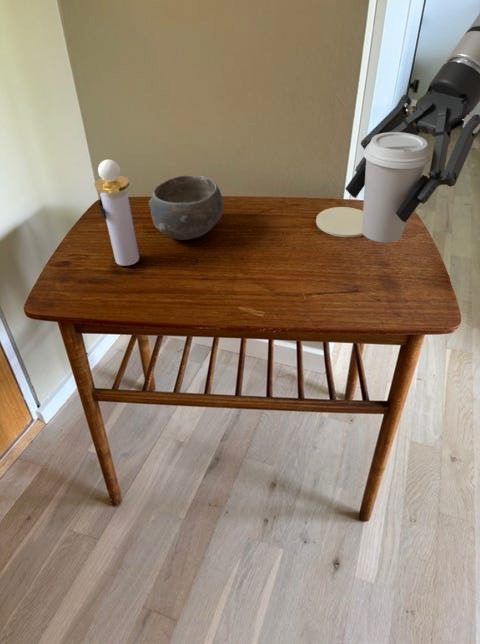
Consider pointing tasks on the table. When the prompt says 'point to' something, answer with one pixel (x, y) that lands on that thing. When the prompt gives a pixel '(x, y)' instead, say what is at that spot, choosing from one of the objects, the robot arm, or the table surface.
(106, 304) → the table surface
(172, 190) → the bowl
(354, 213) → the cream mat
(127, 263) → the perfume bottle
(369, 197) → the coffee cup
